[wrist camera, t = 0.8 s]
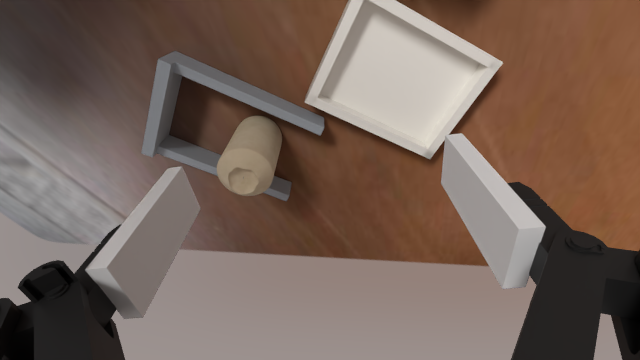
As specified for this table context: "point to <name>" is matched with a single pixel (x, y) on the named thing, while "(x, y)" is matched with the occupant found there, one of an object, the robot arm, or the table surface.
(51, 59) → the table surface
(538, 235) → the robot arm
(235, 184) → the candle
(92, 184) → the table surface
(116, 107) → the table surface
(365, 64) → the tray
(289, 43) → the table surface
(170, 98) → the bracket
